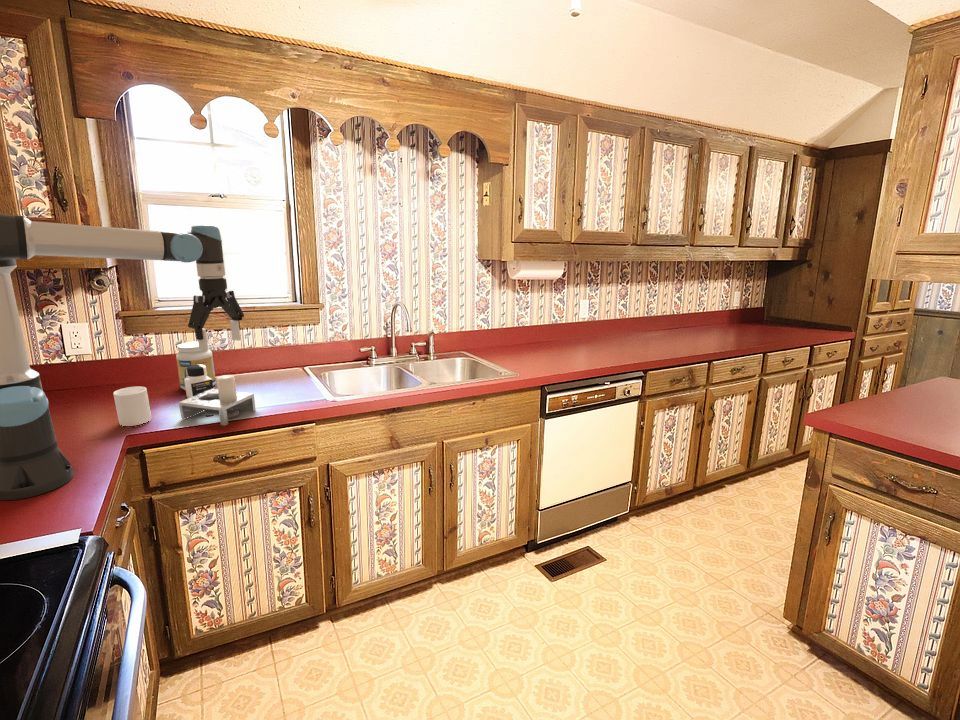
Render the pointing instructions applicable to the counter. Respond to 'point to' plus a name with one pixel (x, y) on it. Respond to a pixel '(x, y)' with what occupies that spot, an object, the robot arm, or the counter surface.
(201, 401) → the white table-shaped stand
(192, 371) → the medicine bottle
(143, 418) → the mug
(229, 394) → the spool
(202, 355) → the supplement tub
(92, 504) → the counter surface
